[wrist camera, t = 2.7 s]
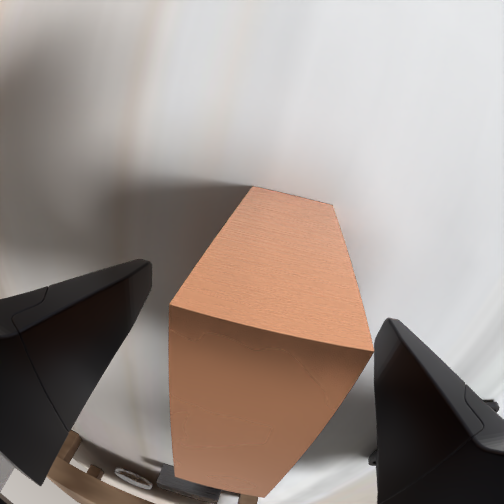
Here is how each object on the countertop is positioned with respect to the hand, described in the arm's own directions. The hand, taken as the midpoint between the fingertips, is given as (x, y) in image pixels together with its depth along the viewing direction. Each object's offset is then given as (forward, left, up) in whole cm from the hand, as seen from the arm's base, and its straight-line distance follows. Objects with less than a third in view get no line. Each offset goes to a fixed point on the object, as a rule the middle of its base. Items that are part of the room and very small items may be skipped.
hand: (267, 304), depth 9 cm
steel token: (+8, +29, -2) cm, 30 cm away
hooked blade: (+2, +9, -1) cm, 9 cm away
